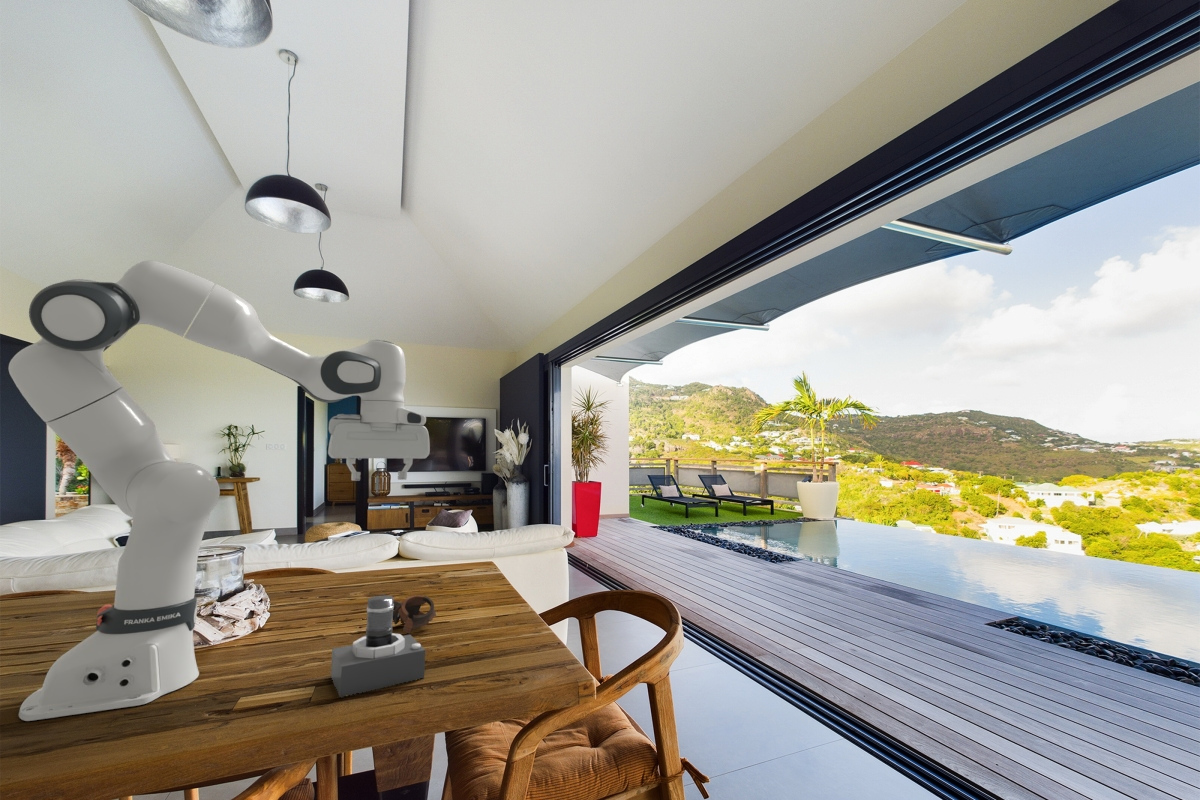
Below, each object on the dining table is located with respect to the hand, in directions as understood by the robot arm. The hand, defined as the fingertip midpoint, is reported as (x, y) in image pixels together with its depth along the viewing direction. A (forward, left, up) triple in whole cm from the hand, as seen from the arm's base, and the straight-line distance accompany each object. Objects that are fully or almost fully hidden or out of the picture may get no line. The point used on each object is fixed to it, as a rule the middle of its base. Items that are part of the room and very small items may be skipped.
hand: (379, 480), depth 114 cm
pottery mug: (+11, +11, -35) cm, 39 cm away
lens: (-2, -15, -30) cm, 34 cm away
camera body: (-2, -15, -35) cm, 38 cm away
